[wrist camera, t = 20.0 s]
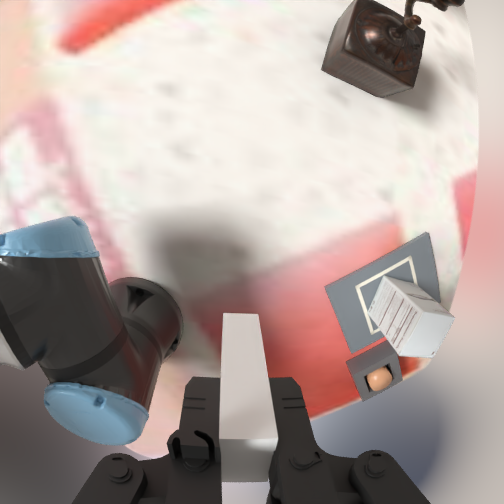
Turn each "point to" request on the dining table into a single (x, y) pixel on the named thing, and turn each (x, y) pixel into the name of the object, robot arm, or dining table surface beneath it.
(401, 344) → the supplement box
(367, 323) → the slate board
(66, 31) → the dining table surface
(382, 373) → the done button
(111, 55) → the dining table surface
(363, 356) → the button housing
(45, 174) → the dining table surface
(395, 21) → the manual coffee grinder
